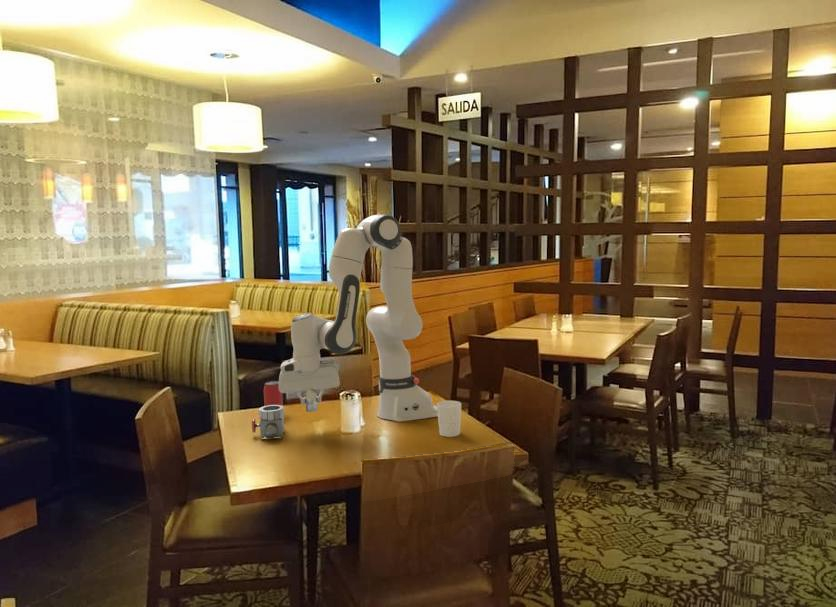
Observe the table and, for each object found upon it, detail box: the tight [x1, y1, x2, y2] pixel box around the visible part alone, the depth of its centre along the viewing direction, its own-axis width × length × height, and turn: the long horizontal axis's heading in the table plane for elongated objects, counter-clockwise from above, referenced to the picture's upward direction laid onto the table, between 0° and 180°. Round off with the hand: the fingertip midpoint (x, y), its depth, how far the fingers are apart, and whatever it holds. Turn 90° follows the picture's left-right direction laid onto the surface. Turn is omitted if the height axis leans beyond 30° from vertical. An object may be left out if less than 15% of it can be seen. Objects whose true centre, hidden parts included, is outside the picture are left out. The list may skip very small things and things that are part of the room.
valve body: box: [251, 405, 285, 439], centre depth 210 cm, size 10×14×9 cm
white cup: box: [436, 400, 462, 438], centre depth 205 cm, size 8×8×10 cm
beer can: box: [263, 380, 284, 407], centre depth 233 cm, size 7×7×12 cm
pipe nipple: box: [303, 388, 319, 413], centre depth 214 cm, size 4×4×8 cm
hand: (311, 402), depth 214 cm, fingers closed on pipe nipple, 4 cm apart
